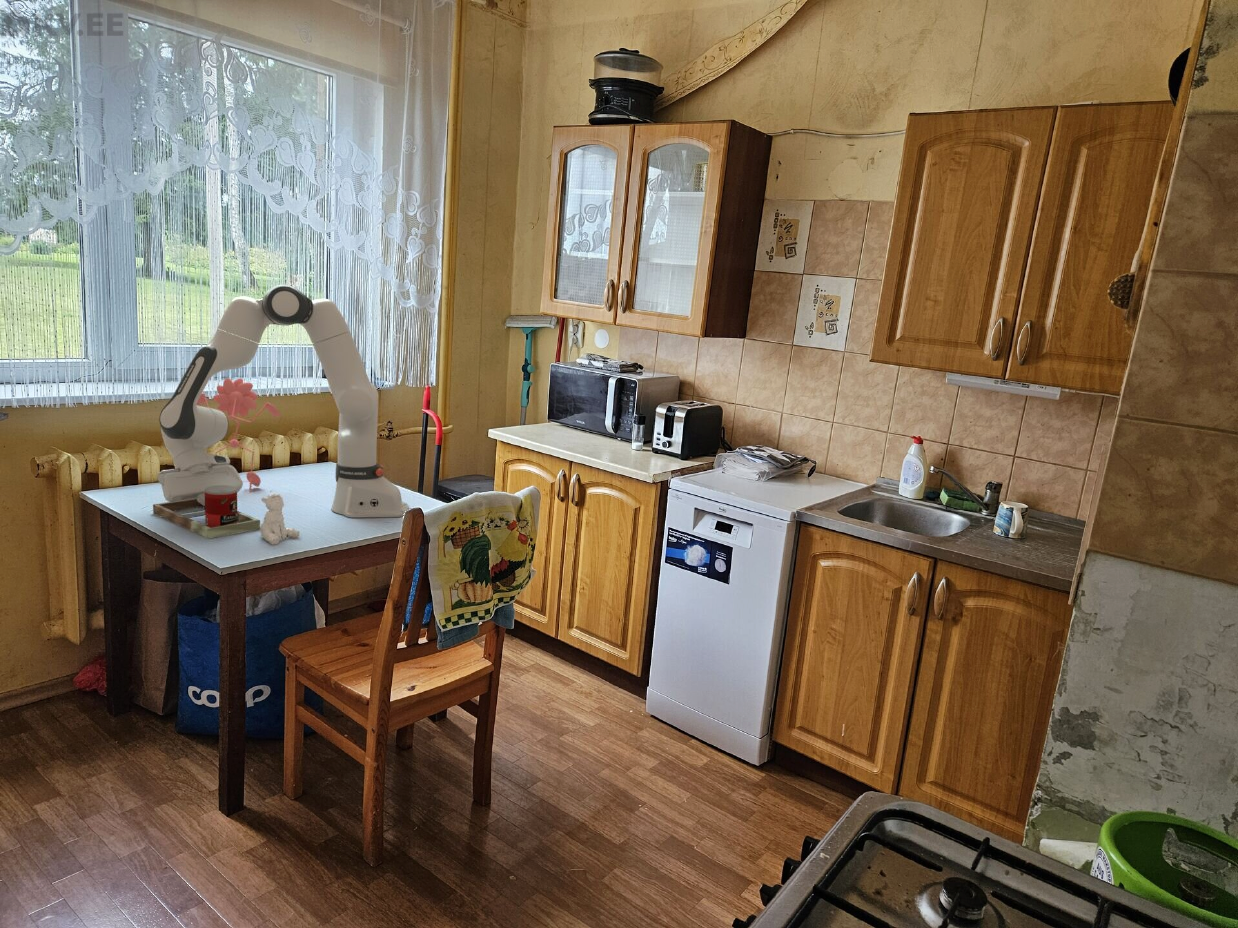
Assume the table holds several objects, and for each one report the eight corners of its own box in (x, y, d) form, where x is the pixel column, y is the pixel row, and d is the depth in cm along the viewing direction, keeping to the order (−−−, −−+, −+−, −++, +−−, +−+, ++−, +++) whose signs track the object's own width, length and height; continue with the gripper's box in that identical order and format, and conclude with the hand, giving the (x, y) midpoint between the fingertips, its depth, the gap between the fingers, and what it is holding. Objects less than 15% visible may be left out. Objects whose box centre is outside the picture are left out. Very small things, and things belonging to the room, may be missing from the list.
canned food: (224, 534, 214) (224, 493, 212) (198, 530, 215) (197, 489, 213) (244, 526, 221) (243, 487, 219) (218, 522, 223) (217, 483, 221)
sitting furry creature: (273, 546, 208) (273, 500, 206) (248, 539, 211) (247, 495, 209) (301, 537, 217) (301, 493, 214) (276, 531, 220) (276, 488, 217)
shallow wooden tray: (153, 513, 226) (152, 504, 226) (203, 505, 238) (203, 497, 237) (208, 538, 209) (208, 529, 209) (260, 529, 221) (260, 520, 220)
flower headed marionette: (279, 492, 257) (278, 382, 251) (188, 492, 249) (185, 378, 243) (282, 482, 271) (282, 377, 265) (196, 482, 263) (194, 373, 257)
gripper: (158, 464, 214) (177, 508, 210) (234, 456, 230) (253, 497, 227) (151, 477, 217) (169, 521, 214) (226, 468, 234) (244, 509, 230)
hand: (213, 508), depth 220 cm, fingers closed, pressing on canned food
